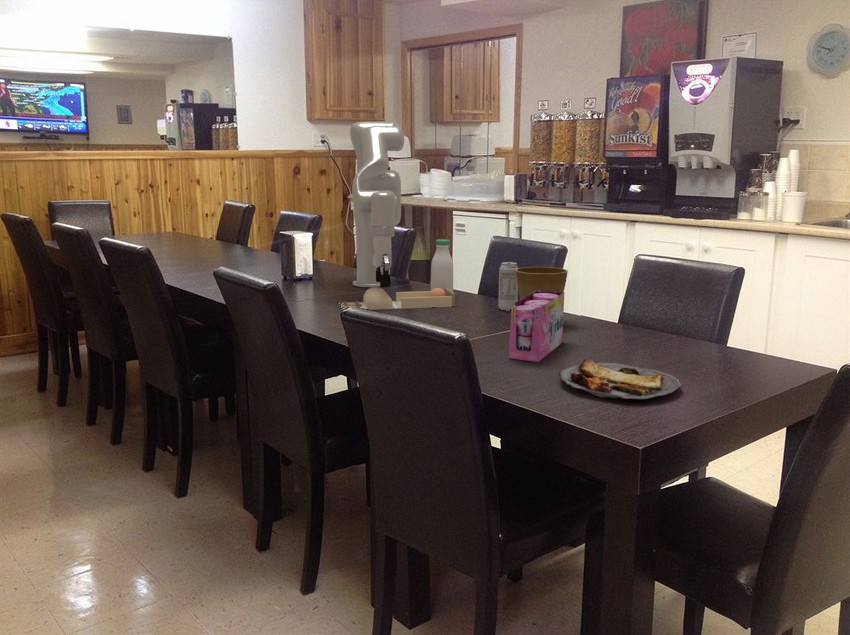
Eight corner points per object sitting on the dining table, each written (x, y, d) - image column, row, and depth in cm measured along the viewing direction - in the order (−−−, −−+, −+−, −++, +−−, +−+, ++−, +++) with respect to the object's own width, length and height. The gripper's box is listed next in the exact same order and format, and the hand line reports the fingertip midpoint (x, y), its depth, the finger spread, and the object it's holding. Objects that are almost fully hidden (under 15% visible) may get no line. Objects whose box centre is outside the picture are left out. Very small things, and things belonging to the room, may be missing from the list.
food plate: (541, 389, 163) (542, 373, 162) (583, 365, 182) (584, 351, 181) (658, 414, 149) (660, 397, 149) (690, 386, 169) (692, 371, 168)
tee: (339, 304, 250) (339, 300, 250) (360, 303, 252) (360, 300, 252) (341, 308, 244) (341, 304, 244) (363, 307, 245) (363, 304, 245)
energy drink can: (519, 308, 247) (521, 262, 244) (513, 312, 241) (515, 265, 238) (501, 307, 249) (503, 261, 246) (495, 310, 244) (496, 263, 241)
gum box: (537, 364, 183) (539, 308, 180) (506, 360, 186) (507, 305, 183) (563, 342, 204) (565, 291, 201) (534, 339, 207) (536, 289, 204)
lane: (339, 311, 253) (338, 287, 251) (446, 308, 260) (447, 284, 259) (342, 318, 242) (342, 293, 241) (454, 314, 250) (455, 290, 248)
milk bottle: (456, 298, 263) (457, 240, 259) (435, 300, 260) (436, 241, 256) (447, 295, 270) (448, 238, 266) (427, 296, 267) (427, 238, 263)
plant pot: (573, 322, 228) (576, 268, 224) (551, 331, 216) (554, 275, 212) (528, 316, 236) (530, 264, 233) (505, 324, 224) (506, 270, 221)
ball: (431, 285, 254) (445, 288, 256) (427, 299, 255) (441, 302, 256) (434, 287, 250) (448, 291, 251) (430, 302, 250) (444, 305, 252)
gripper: (367, 228, 252) (367, 280, 256) (374, 234, 236) (375, 289, 239) (389, 228, 254) (390, 279, 258) (399, 234, 237) (399, 288, 241)
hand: (382, 284), depth 249 cm, fingers open, 9 cm apart
